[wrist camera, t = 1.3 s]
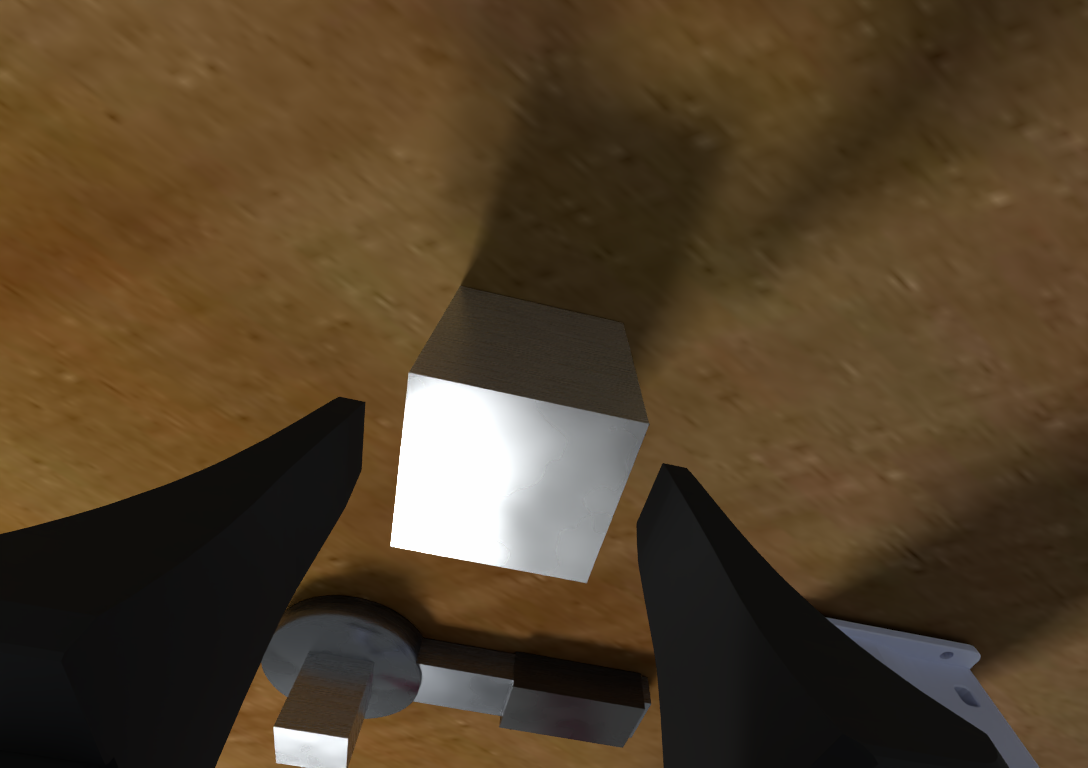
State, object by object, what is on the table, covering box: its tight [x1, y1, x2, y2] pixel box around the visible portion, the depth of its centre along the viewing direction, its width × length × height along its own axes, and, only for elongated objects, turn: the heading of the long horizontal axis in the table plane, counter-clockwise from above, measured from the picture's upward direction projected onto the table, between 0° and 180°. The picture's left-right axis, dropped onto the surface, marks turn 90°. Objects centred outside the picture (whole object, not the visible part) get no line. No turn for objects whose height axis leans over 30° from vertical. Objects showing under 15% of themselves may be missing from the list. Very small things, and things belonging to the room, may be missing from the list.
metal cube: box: [391, 286, 649, 583], centre depth 14 cm, size 5×5×6 cm
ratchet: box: [261, 596, 651, 768], centre depth 22 cm, size 17×7×4 cm, turn 77°
